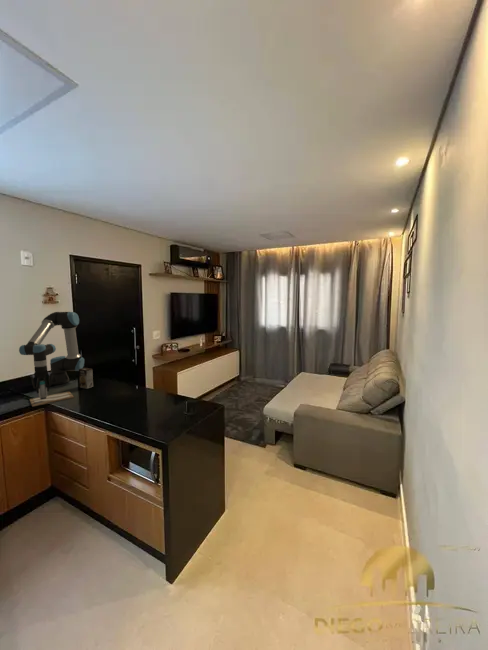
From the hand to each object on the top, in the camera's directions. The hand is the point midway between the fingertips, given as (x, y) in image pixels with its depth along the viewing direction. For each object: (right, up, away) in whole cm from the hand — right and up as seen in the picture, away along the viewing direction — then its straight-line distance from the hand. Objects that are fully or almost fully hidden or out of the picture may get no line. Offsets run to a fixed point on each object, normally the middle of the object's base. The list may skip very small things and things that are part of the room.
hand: (43, 396), depth 210 cm
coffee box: (+12, -1, +36) cm, 38 cm away
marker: (0, -1, 0) cm, 1 cm away
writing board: (+2, -4, +7) cm, 8 cm away
